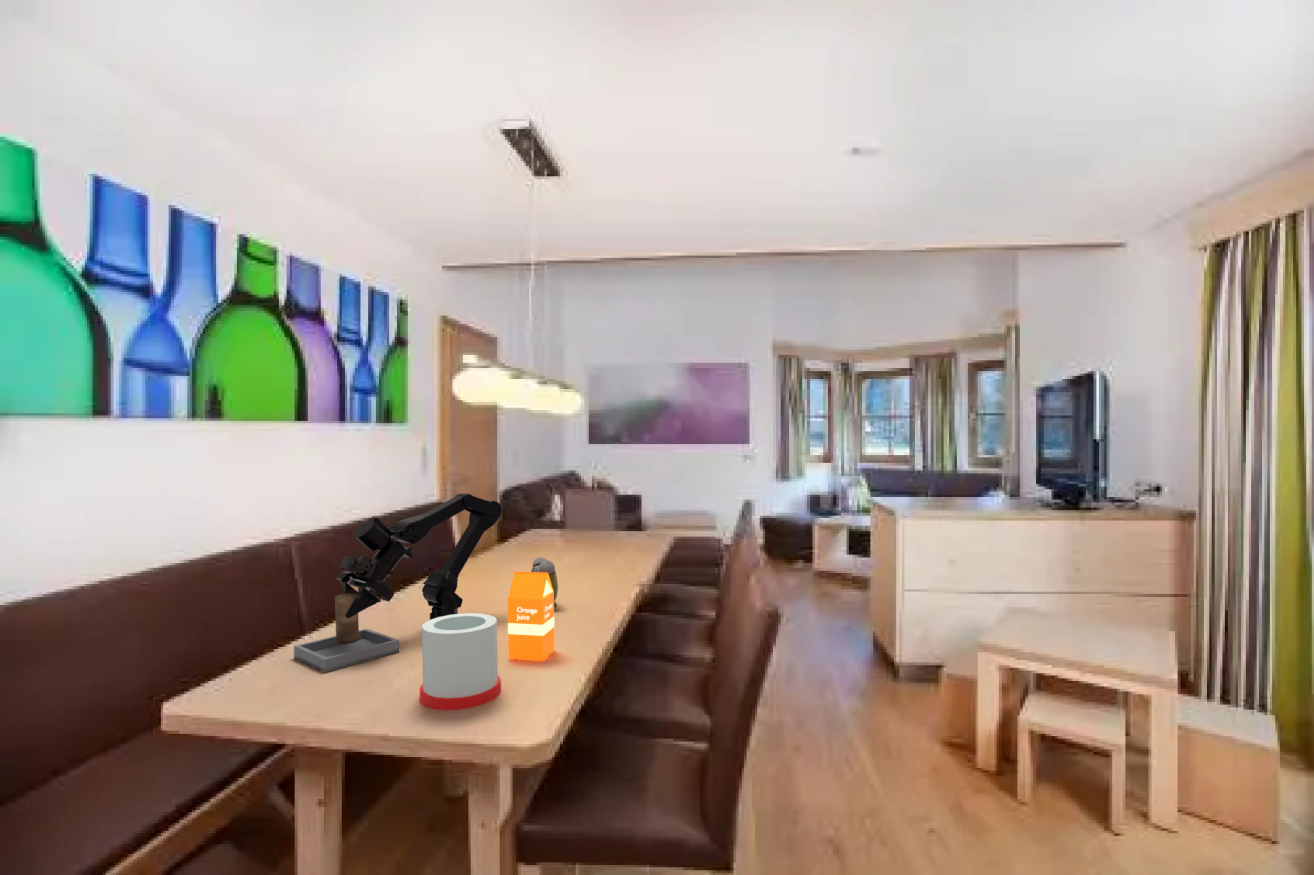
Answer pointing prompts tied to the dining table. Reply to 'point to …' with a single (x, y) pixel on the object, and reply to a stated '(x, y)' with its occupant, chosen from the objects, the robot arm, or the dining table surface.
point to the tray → (346, 651)
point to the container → (459, 661)
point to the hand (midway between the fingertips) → (341, 615)
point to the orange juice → (530, 616)
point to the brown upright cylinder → (346, 620)
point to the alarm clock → (547, 567)
